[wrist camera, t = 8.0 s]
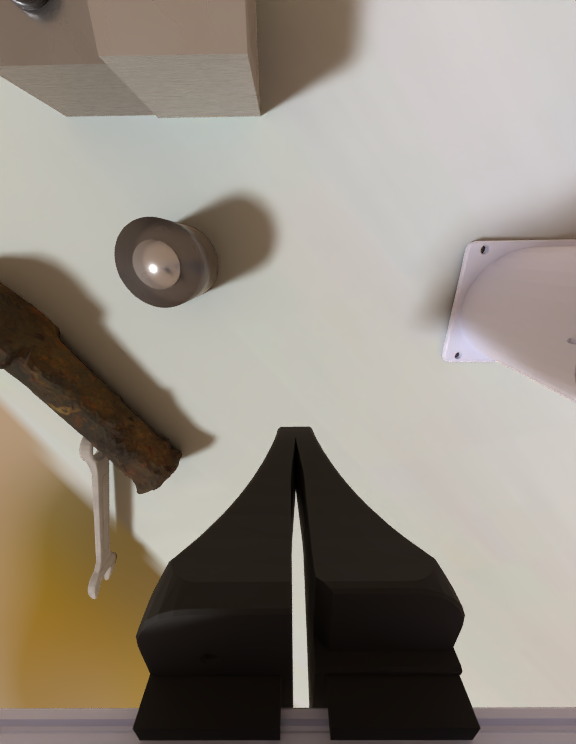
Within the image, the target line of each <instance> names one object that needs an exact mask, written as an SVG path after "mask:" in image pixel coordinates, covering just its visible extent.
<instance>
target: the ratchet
mask: <svg viewBox="0 0 576 744" xmlns="http://www.w3.org/2000/svg"><path fill="white" fill-rule="evenodd" d="M0 76H1V77H3V78H5V79H6V80H8V81H10V82H11V83H13V84H14V85H16V86H18V87H19V88H21V89H23V90H24V91H26V92H28V93H29V94H31V95H32V96H34V97H36V98H37V99H39V100H41V101H42V102H44V103H45V104H47V105H49V106H50V107H52V108H54V109H55V110H57V111H59V112H60V113H62V114H63V115H65V116H124V115H155V114H154V113H153V112H152V111H151V110H150V109H149V108H148V107H147V106H146V105H145V104H144V102H143V101H142V100H141V99H140V98H139V97H138V96H137V95H136V94H135V93H134V92H133V91H132V90H131V89H130V88H129V87H128V86H127V85H126V84H125V83H124V82H123V81H122V80H121V79H120V78H119V77H118V76H117V75H116V74H115V73H114V72H113V71H112V69H111V68H110V67H109V66H108V65H107V64H106V63H105V62H104V61H103V60H102V59H101V58H100V57H99V56H98V51H97V46H96V41H95V37H94V32H93V27H92V22H91V17H90V13H89V8H88V3H87V0H0Z"/></svg>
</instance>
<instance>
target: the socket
mask: <svg viewBox="0 0 576 744" xmlns="http://www.w3.org/2000/svg"><path fill="white" fill-rule="evenodd" d="M115 263H116V267H117V270H118V273H119V275H120V277H121V279H122V281H123V283H124V284H125V285H126V287H127V288H128V289H129V290H130V292H131V293H133V294H134V295H135V296H136V297H137V298H139V299H140V300H142V301H143V302H145V303H147V304H150V305H153V306H156V307H163V308H168V307H174V306H178V305H180V304H183V303H185V302H187V301H189V300H191V299H193V298H195V297H197V296H199V295H202V294H203V293H205V292H206V291H208V290H209V289H210V288H211V287H212V285H213V284H214V282H215V280H216V277H217V274H218V259H217V255H216V252H215V249H214V247H213V245H212V244H211V242H210V241H209V240H208V238H207V237H206V236H205V235H204V234H202V233H201V232H200V231H198V230H197V229H195V228H193V227H190V226H187V225H183V224H180V223H176V222H172V221H169V220H165V219H161V218H156V217H143V218H139V219H136V220H134V221H132V222H130V223H129V224H127V225H126V226H125V227H124V228H123V230H122V231H121V232H120V234H119V236H118V238H117V241H116V245H115Z"/></svg>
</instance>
